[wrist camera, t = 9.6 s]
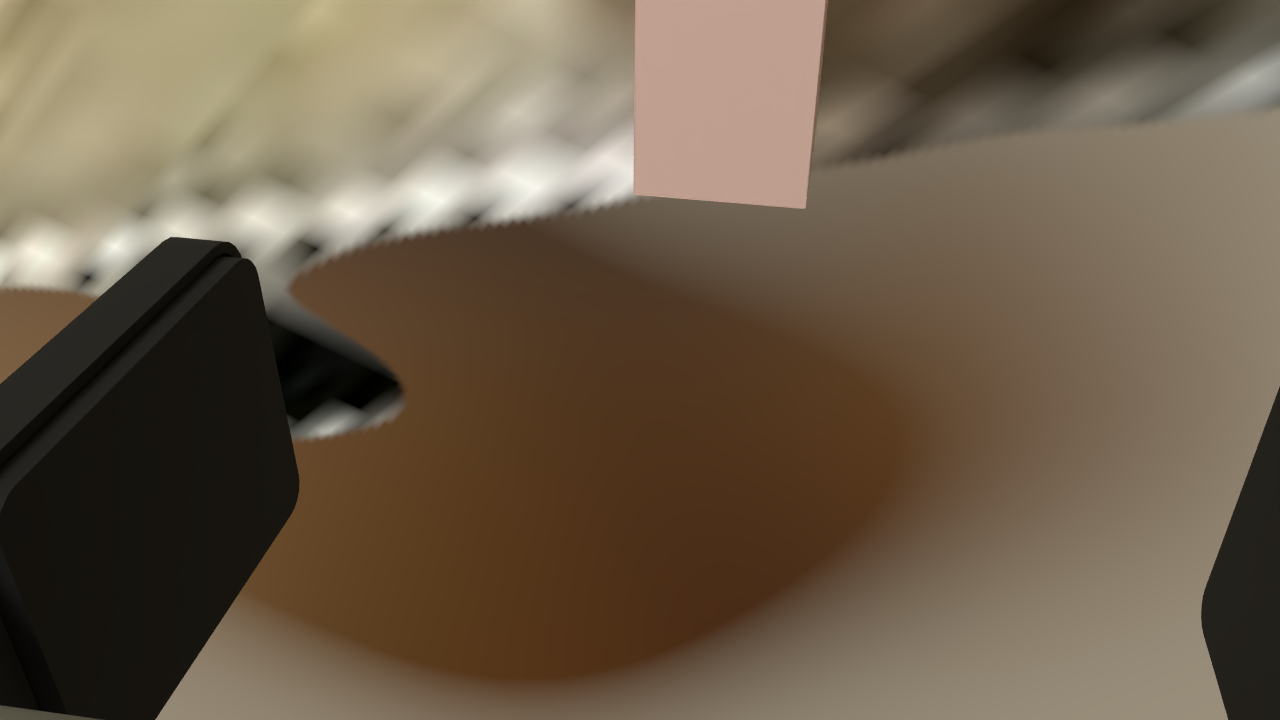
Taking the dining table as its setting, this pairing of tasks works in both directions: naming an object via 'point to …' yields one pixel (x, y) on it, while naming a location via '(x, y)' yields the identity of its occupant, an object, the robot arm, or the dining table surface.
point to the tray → (727, 99)
